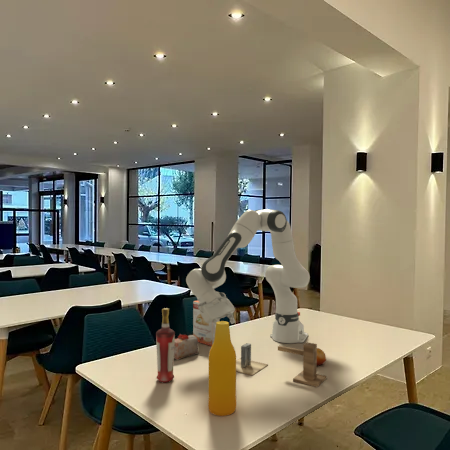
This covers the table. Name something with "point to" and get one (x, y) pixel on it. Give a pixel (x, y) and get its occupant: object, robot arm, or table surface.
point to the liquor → (165, 349)
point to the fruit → (320, 357)
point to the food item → (185, 346)
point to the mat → (250, 367)
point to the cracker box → (202, 327)
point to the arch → (245, 355)
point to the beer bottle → (222, 372)
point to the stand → (307, 364)
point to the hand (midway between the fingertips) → (228, 325)
